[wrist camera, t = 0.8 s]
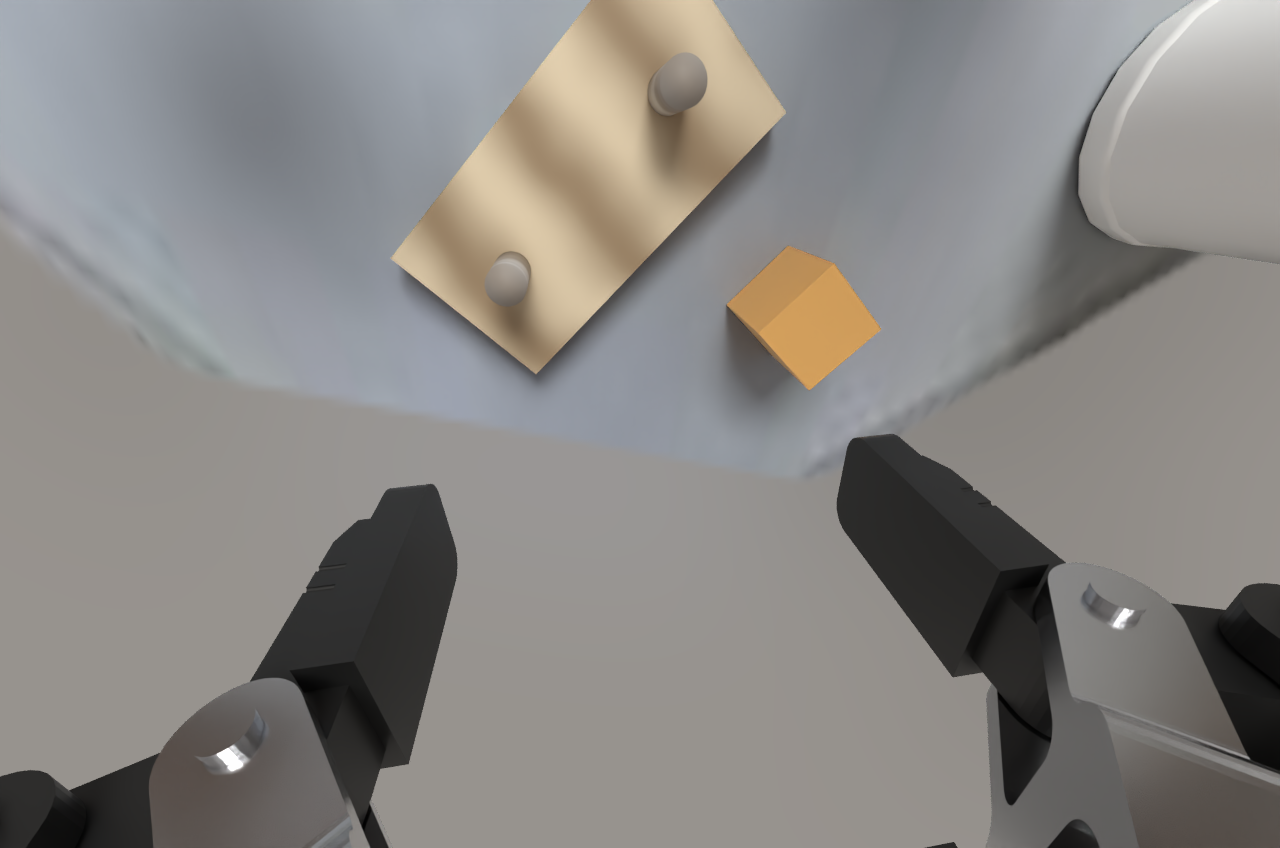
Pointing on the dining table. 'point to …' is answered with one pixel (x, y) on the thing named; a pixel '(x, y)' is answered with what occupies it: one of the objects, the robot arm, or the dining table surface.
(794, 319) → the wooden toy cube
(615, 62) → the wooden peg rack
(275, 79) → the dining table surface
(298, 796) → the robot arm
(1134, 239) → the bottle
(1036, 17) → the dining table surface
